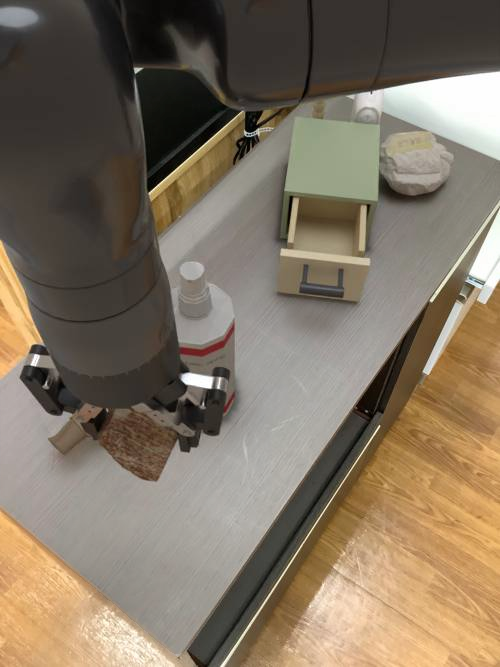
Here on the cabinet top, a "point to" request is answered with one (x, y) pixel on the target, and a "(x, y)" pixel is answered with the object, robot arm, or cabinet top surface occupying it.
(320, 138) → the cabinet
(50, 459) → the cabinet top surface
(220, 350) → the spray bottle
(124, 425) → the stone
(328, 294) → the drawer
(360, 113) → the photo printer
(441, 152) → the fossil replica
